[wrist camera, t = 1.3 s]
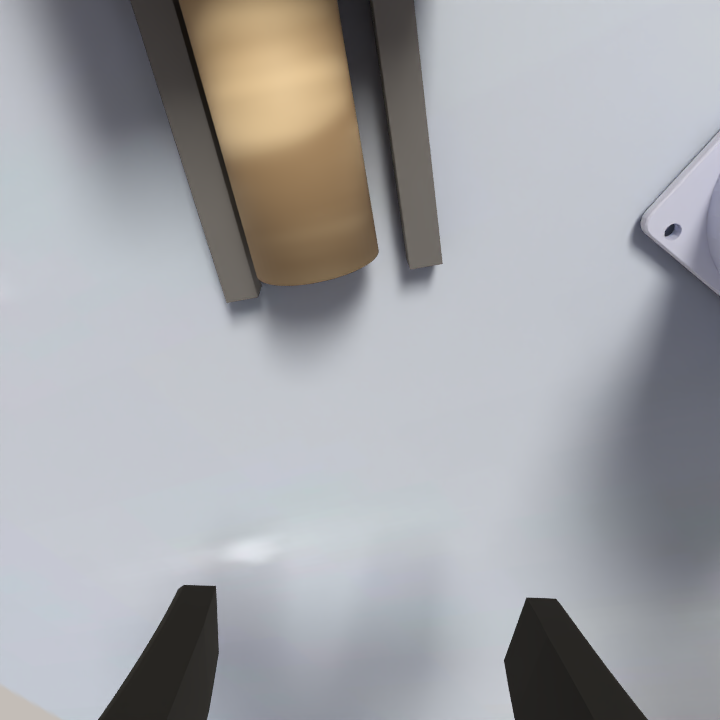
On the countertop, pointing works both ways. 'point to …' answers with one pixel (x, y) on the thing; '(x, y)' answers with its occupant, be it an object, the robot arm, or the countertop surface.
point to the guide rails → (205, 160)
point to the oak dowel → (286, 133)
